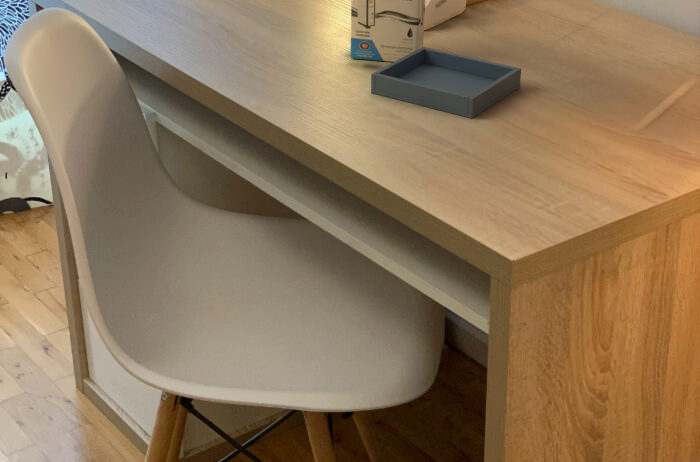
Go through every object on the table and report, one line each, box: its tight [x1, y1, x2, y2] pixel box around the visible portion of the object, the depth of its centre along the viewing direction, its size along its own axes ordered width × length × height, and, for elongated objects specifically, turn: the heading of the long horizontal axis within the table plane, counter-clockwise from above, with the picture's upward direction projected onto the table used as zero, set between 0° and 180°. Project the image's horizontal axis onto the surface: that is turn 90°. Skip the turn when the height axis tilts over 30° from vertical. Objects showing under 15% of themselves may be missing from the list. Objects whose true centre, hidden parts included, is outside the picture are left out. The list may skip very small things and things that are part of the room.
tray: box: [370, 46, 522, 119], centre depth 122 cm, size 13×11×2 cm
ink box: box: [350, 0, 425, 63], centre depth 130 cm, size 9×5×12 cm, turn 76°
